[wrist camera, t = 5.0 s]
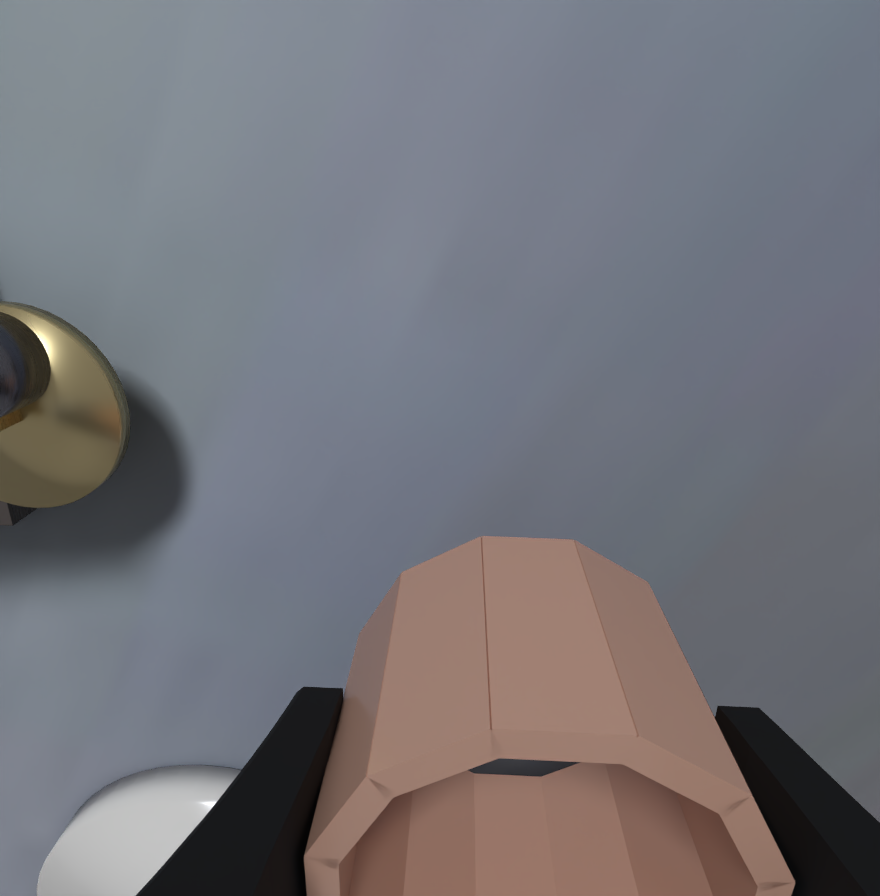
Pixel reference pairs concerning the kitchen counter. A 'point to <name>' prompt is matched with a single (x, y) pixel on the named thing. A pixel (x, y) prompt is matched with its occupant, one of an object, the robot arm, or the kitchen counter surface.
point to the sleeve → (531, 742)
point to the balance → (54, 413)
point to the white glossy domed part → (131, 830)
